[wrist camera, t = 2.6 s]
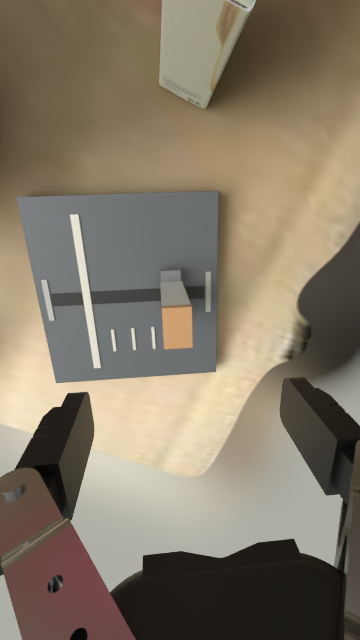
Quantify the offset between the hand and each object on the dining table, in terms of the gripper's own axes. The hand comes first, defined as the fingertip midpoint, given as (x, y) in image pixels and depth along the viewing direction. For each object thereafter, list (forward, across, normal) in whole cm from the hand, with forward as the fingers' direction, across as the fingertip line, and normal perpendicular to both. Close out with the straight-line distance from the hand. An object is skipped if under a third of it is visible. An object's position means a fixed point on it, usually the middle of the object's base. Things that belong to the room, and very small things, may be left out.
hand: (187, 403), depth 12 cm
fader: (+17, 0, 0) cm, 17 cm away
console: (+19, +4, 0) cm, 19 cm away
